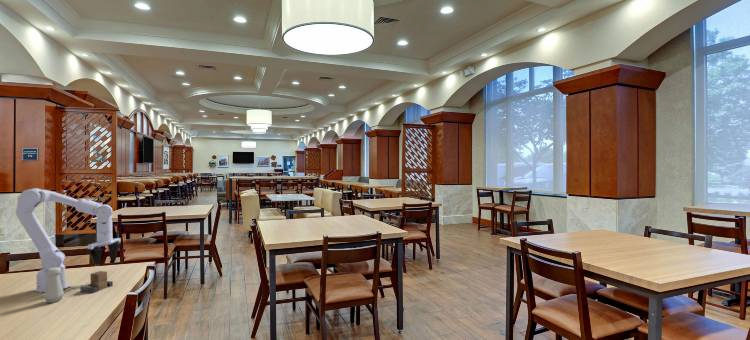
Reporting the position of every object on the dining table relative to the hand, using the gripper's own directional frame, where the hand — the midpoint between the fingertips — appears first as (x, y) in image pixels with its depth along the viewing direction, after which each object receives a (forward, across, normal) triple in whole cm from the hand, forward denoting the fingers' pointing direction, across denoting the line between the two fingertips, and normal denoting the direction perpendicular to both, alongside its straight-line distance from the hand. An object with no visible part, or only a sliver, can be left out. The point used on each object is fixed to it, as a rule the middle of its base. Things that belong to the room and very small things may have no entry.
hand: (105, 261), depth 165 cm
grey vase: (+10, -23, -1) cm, 25 cm away
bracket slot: (+9, -8, -5) cm, 13 cm away
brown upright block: (+9, -8, -5) cm, 13 cm away
